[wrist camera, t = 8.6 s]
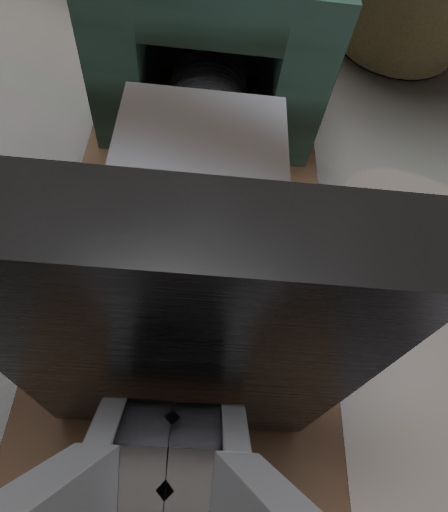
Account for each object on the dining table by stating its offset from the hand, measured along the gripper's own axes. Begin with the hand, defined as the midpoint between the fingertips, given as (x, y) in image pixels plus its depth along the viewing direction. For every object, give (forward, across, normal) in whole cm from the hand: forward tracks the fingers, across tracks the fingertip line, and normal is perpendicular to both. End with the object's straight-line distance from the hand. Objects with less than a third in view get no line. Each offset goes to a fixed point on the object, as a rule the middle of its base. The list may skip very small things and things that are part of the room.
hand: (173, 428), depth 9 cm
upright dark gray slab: (+7, 0, -3) cm, 8 cm away
